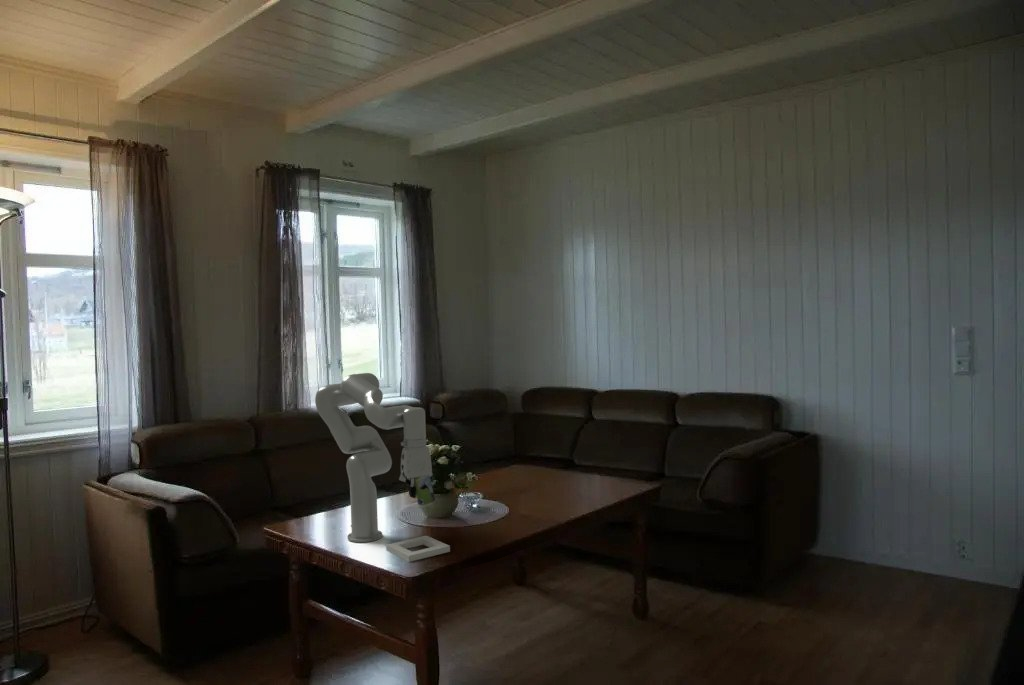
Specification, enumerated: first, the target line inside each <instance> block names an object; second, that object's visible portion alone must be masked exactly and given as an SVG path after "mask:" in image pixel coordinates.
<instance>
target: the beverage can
mask: <svg viewBox="0 0 1024 685" xmlns="http://www.w3.org/2000/svg"><path fill="white" fill-rule="evenodd" d="M414 486H415V487H416V498H415V499H416V501H417V505H419V506H421V507H427V506H429V505H432V504H433V503H434V501H436V498H435V494H434V490H433V485H432V481H431V477H430V476H429V475H425V476H421V477H417V478H414Z"/></svg>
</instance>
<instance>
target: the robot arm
mask: <svg viewBox="0 0 1024 685" xmlns="http://www.w3.org/2000/svg"><path fill="white" fill-rule="evenodd" d="M383 395H384V394H383V391H382V390H381V388H380V381H379V378H378V377H377V376H376V375H375V374H373V373H370V372H363V373H352V374H349V375H347V376H345V377H344V378H343V379H342V380H341V382H340V383H332V384H328V385H324V386H321V387H320V388H319V389H318V390H317V391H316V393H315V397H314V399H315V400H314V404H315V408H316V410H317V412H318V415H319V416H320V417H321V419H322V421H323V422H324V423H325V425H327V427H328V429H329V431H330V433H331V435H332V437H333V438H334V441H335V442H336V444H337V446H338V447H339V450H340V451H341V452H342V453H343V454H347V455H349V454H351V456H350V457H348V459H347V460H346V465H345V467H346V473H347V477H348V482H349V483H348V484H349V494H350V495H349V498H350V518H351V519H350V521H351V522H350V524H351V525H350V528H351V532H350V533H349V534H348V535H347V540H348V541H349V542H353V543H368V542H373V541H378V540H380V539H382V537H383V532H382V531H380V530H379V522H378V497H377V486H376V484H375V482H374V481H373V479H372V477H375V476H379V475H383V474H386V473H387V472H389V471H390V469H391V468H392V465H393V460H392V456H391V454H390V451H389V450H388V447H386V445H385V443H384V441H383V439H382V438H381V436H380V434H379V432H378V430H376V429H375V428H374V427H372V426H370V425H361V426H360V425H359V426H356V425H355V424H354V423H353V421H352V420H351V417H350V416H349V414H347V413H346V412H345V411H344V410H342V409H340V407H342V406H349V405H350V406H351V405H354V404H359V405H360V406H361V407H362V408H363V411H364V414H365V417H366V418H367V420H368V422H370V423H372V424H373V425H374V426H376V427H377V428H379V429H381V430H387V431H388V430H392V429H398V428H403V441H401V442H400V446H401V447H403V448H402V450H401V456H400V476H399V477H398V481H401V482H404V483H405V484H406V485H407V486H408V495H409V497H410V498H412V499H417V498H416V487H415V486H414V478H417V477H421V476H425V475H429V476H430V478H431V477H433V475H434V474H433V468H432V467H433V466H432V457H431V452H430V447H429V446H428V445H427V433H426V432H427V430H426V429H427V428H426V426H427V425H426V410H425V409H424V408H423V407H416V406H415V407H414V406H412V405H408V404H407V405H406V404H402V405H396V406H388V407H384V406H382V405H381V403H382V401H383V397H384V396H383Z"/></svg>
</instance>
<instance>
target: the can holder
mask: <svg viewBox="0 0 1024 685" xmlns="http://www.w3.org/2000/svg"><path fill="white" fill-rule="evenodd" d="M419 546H425V547H427V548H423V549H419V550H414V551H412V550H409V549H411V548H415V547H419ZM385 548H386V551H387V552H389V553H390V554H392V555H394V556H396V557H398V558H400V559H402V560H404V561H406V562H408V563H410V562H414V561H418V560H421V559H422V560H423V559H425V558H430V557H434V556H437V555H442V554H446V553H450V552H451V545H449V544H446V543H444V542H443V541H439V540H437V539H435V538H434V537H433V538H432V537H431V536H428V535H422V536H418V537H414V538H410V539H405V540H401V541H395V542H392V543H388V544H386V545H385Z"/></svg>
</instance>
